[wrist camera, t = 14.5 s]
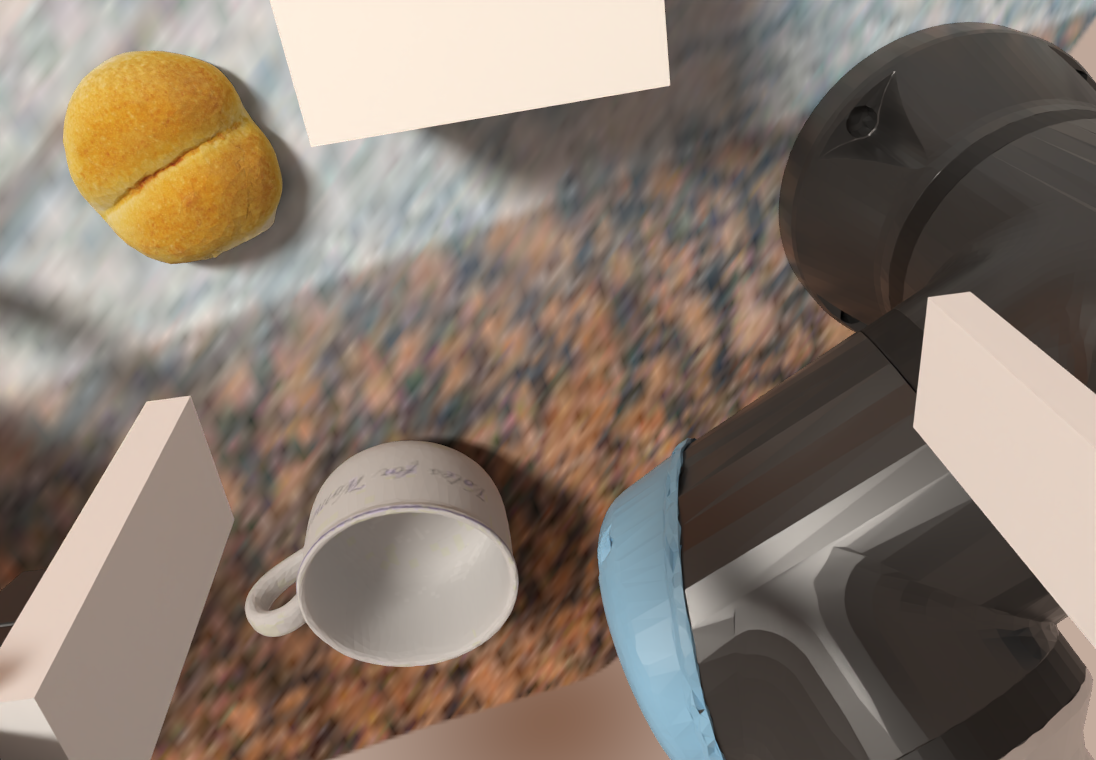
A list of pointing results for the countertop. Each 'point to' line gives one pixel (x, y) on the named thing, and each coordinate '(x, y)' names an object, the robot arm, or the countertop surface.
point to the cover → (461, 59)
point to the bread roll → (170, 156)
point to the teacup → (398, 559)
